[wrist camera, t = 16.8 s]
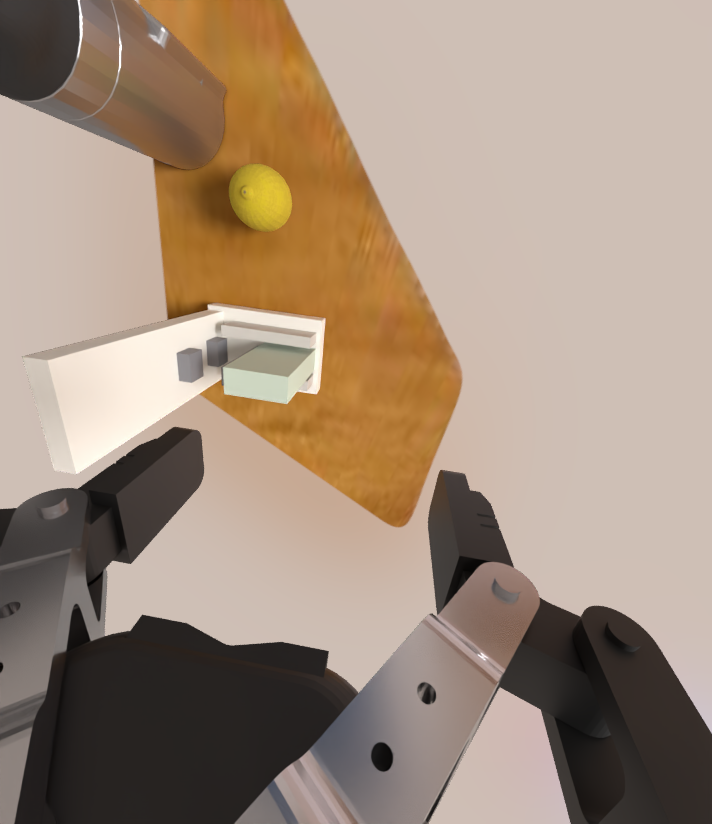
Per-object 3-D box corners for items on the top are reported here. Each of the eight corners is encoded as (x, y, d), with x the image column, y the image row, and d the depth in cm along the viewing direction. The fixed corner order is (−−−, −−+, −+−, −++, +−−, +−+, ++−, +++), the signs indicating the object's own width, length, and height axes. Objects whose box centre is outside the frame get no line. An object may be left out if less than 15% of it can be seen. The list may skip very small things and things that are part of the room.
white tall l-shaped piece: (325, 318, 41) (240, 382, 19) (319, 388, 45) (243, 509, 23) (216, 302, 42) (16, 347, 20) (219, 373, 46) (53, 475, 24)
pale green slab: (316, 348, 41) (288, 377, 31) (314, 369, 42) (287, 403, 32) (260, 340, 41) (215, 365, 31) (260, 361, 42) (216, 392, 32)
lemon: (254, 167, 36) (217, 144, 29) (305, 183, 36) (281, 164, 29) (247, 225, 38) (210, 217, 31) (295, 240, 38) (270, 236, 31)
